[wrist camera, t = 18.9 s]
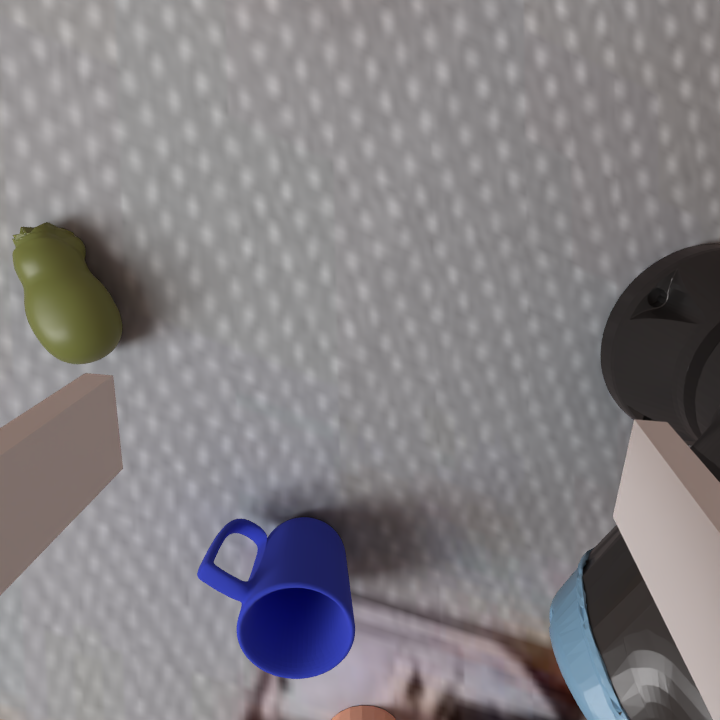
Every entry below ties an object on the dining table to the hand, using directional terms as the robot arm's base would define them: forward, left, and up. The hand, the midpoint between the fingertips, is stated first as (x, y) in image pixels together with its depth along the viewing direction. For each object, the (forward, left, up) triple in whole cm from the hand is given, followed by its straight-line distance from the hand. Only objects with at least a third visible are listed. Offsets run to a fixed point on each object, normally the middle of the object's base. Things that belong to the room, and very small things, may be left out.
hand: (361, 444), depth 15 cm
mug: (+8, +22, -30) cm, 38 cm away
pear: (+20, -1, -30) cm, 36 cm away
